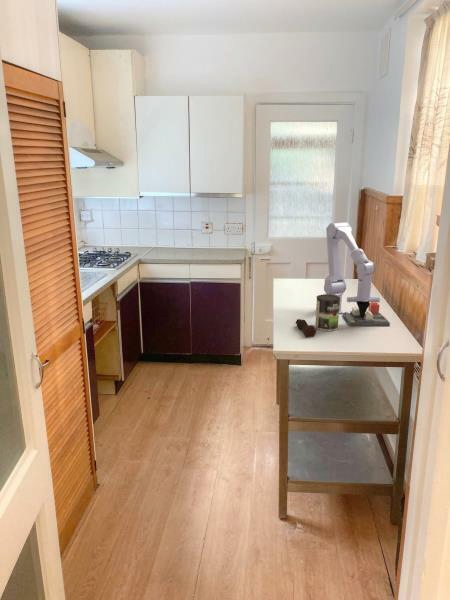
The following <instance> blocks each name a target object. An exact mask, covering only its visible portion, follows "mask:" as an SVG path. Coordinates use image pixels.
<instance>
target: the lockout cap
mask: <svg viewBox="0 0 450 600" xmlns="http://www.w3.org/2000/svg"><path fill="white" fill-rule="evenodd" d="M369 303H370V305H369V307H368V308H367V310H368V311H370V312H371V313H380V304H379V303H378V302H369Z"/></svg>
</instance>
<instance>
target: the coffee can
mask: <svg viewBox="0 0 450 600" xmlns="http://www.w3.org/2000/svg"><path fill="white" fill-rule="evenodd" d="M324 294H325V295H323V294H319V295H317V296H316V304H315V305H316V308H315V309H316V310H315V324H314V327H315V329H316V330H320V331H324V332H325V331H326V332H332V331H333V332H334V331H336V330H338V329H339V317H340V314H339V304H340V297H338V296H335V295H327V294H326V293H324Z"/></svg>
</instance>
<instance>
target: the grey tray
mask: <svg viewBox="0 0 450 600" xmlns="http://www.w3.org/2000/svg"><path fill="white" fill-rule="evenodd" d="M372 314H373V319H372V320H365V319H364V318H361V317H360V315H353V314H352V310H350V312H348V311H345V312H343V314H342V317H343V319H345V321H346V322H347V324H348V325H349V326H350V327H366V326H367V327H390V325H391V322H390V321H389V320H388V318H387V317H385V315H383V314H382V313H381V312H379V313H372Z"/></svg>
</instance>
